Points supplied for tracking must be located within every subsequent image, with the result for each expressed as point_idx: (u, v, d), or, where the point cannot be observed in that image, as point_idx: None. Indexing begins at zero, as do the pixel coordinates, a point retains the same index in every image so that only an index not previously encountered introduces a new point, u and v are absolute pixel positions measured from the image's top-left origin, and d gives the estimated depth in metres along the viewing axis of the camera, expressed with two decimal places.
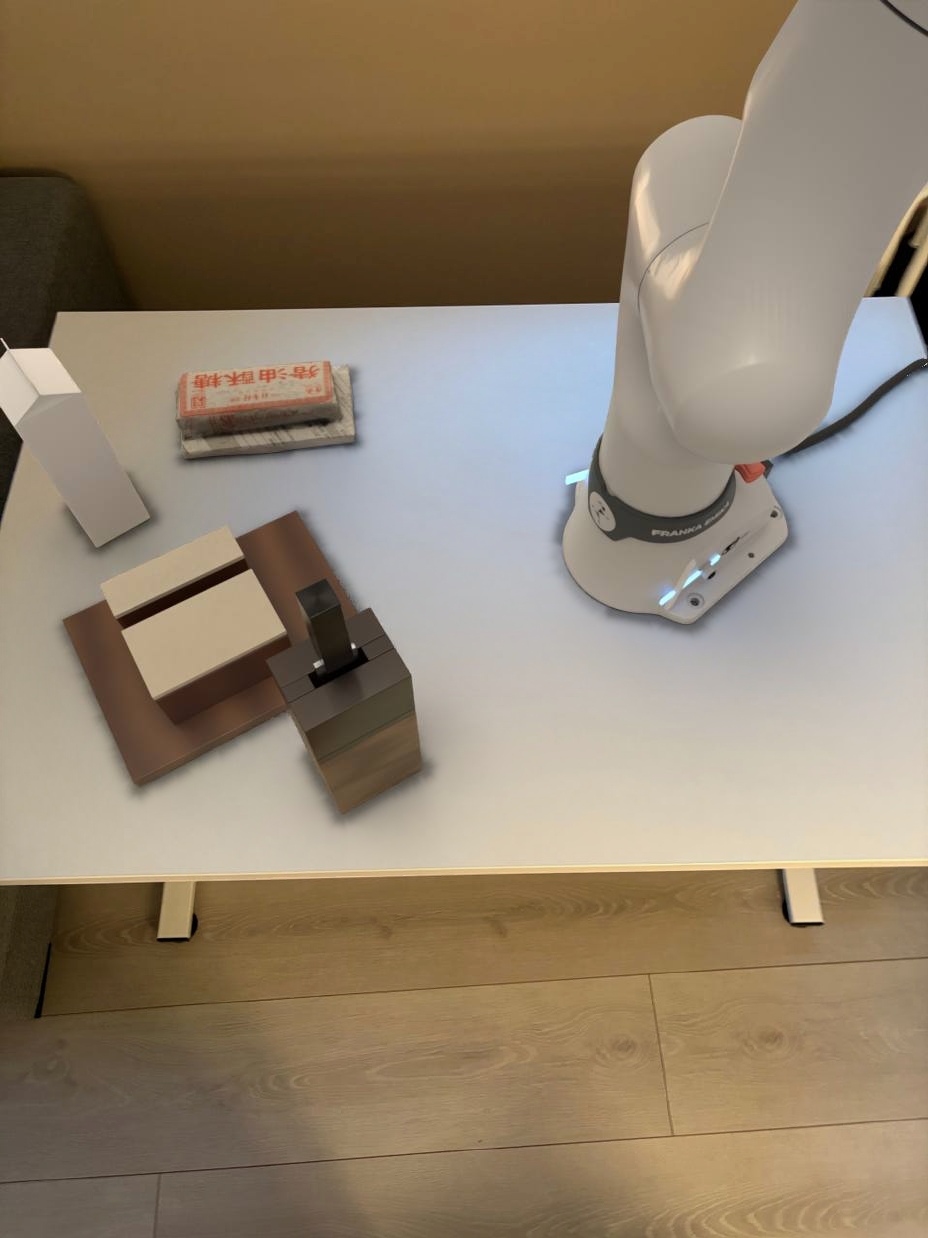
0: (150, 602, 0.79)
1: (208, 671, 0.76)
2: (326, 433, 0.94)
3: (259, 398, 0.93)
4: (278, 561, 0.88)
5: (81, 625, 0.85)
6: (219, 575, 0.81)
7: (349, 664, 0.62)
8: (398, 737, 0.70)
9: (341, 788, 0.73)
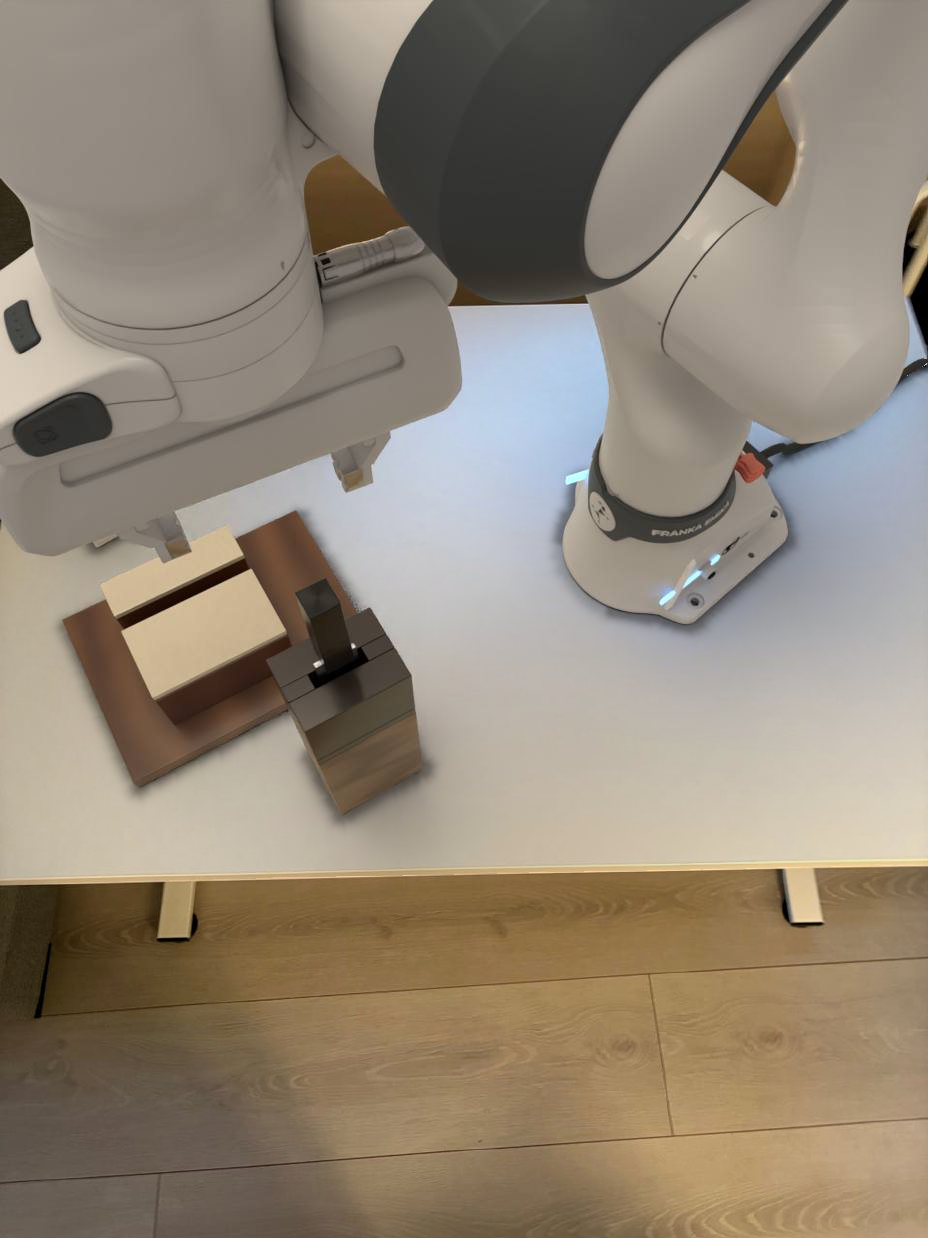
0: (150, 602, 0.79)
1: (208, 671, 0.76)
2: None
3: None
4: (278, 561, 0.88)
5: (81, 625, 0.85)
6: (219, 575, 0.81)
7: (349, 664, 0.62)
8: (398, 737, 0.70)
9: (341, 788, 0.73)
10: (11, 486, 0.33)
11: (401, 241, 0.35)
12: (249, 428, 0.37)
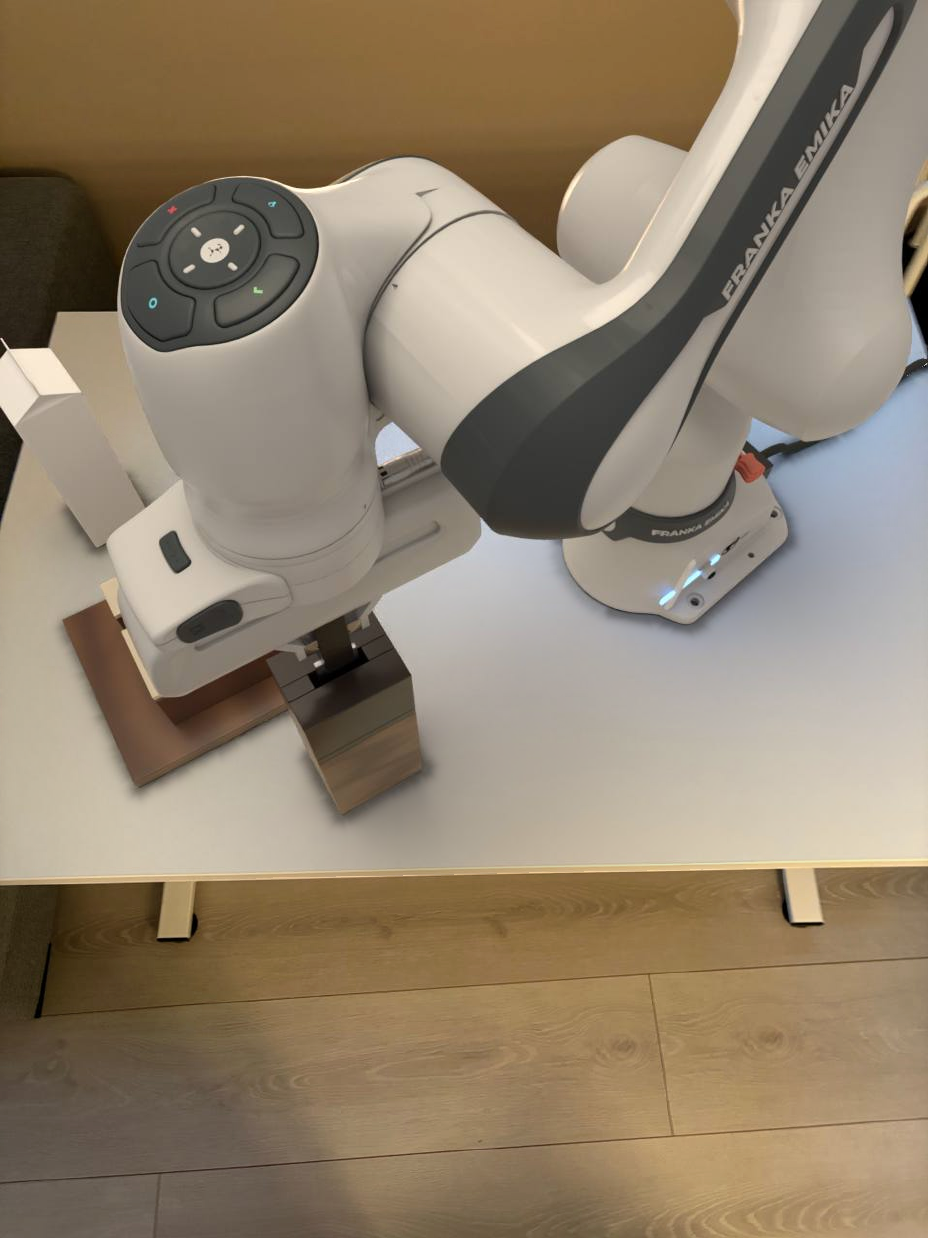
0: None
1: None
2: None
3: None
4: None
5: (81, 625, 0.85)
6: None
7: (349, 664, 0.62)
8: (398, 737, 0.70)
9: (341, 788, 0.73)
10: (165, 660, 0.45)
11: None
12: None
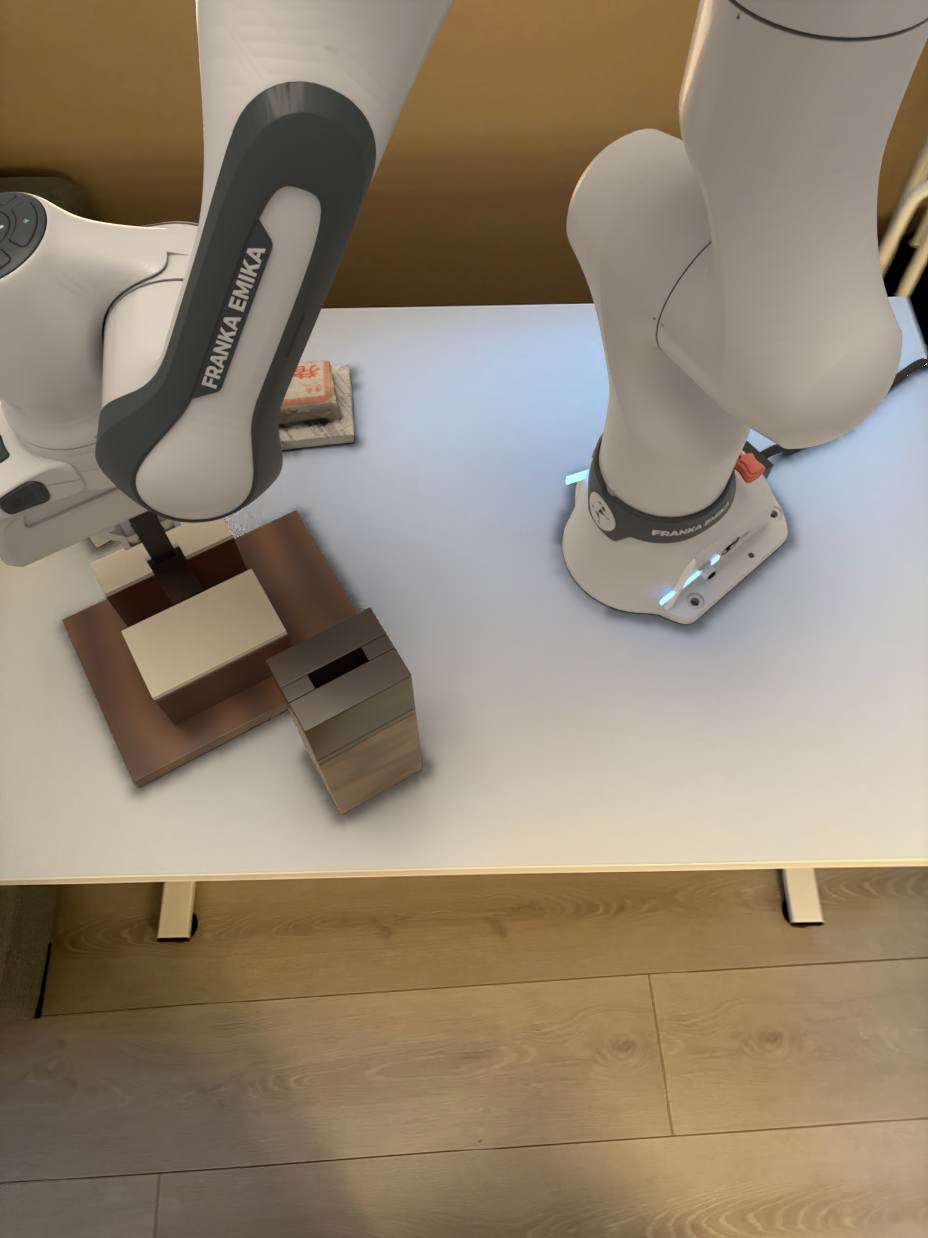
0: (140, 581, 0.80)
1: (208, 671, 0.76)
2: (325, 433, 0.94)
3: None
4: (278, 561, 0.88)
5: (81, 625, 0.85)
6: (208, 555, 0.82)
7: (177, 561, 0.80)
8: (398, 737, 0.70)
9: (341, 788, 0.73)
10: None
11: None
12: None
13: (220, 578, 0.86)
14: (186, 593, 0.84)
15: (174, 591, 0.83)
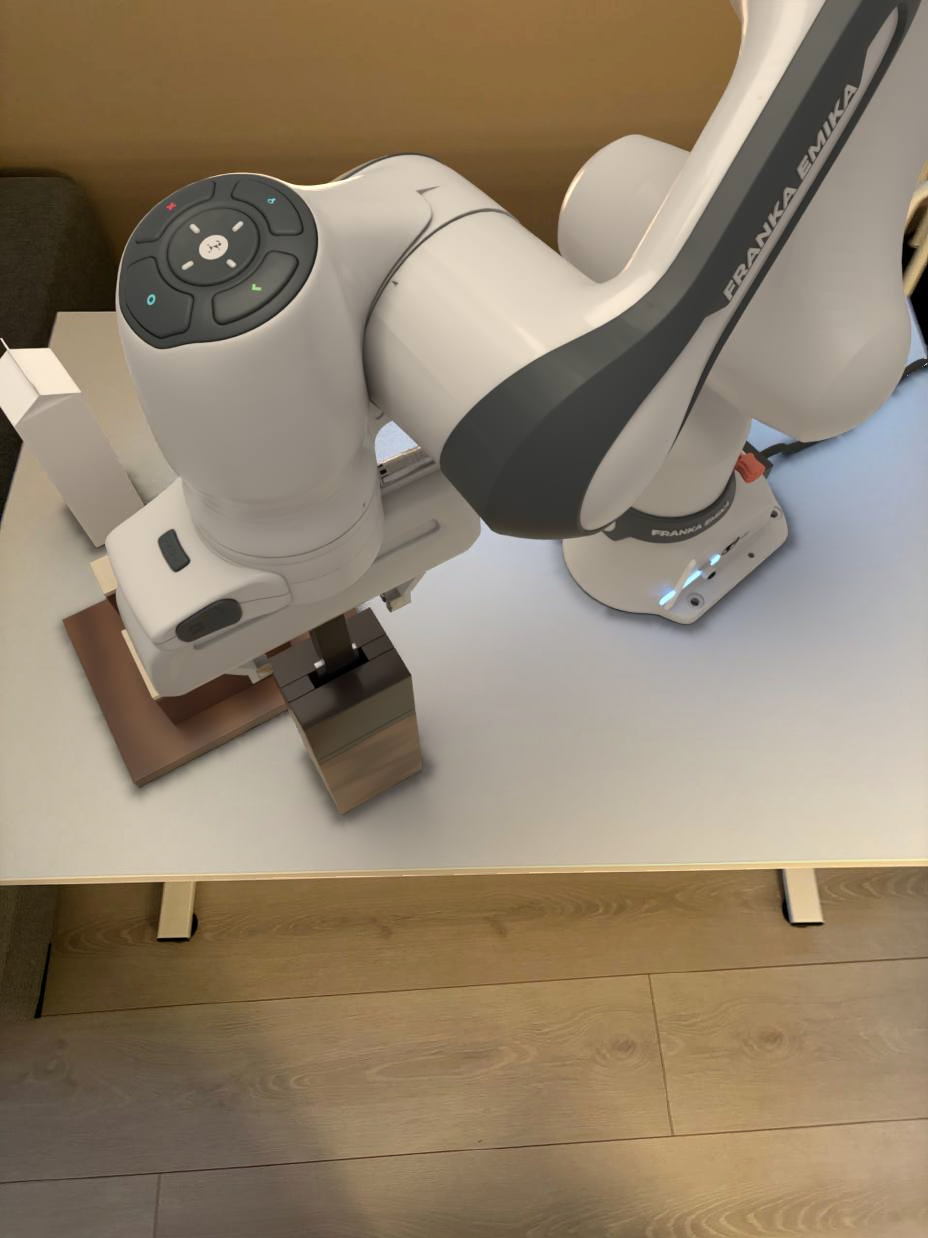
0: None
1: None
2: None
3: None
4: None
5: (81, 625, 0.85)
6: None
7: (350, 665, 0.62)
8: (398, 737, 0.70)
9: (341, 788, 0.73)
10: (164, 659, 0.44)
11: None
12: None
13: None
14: None
15: None
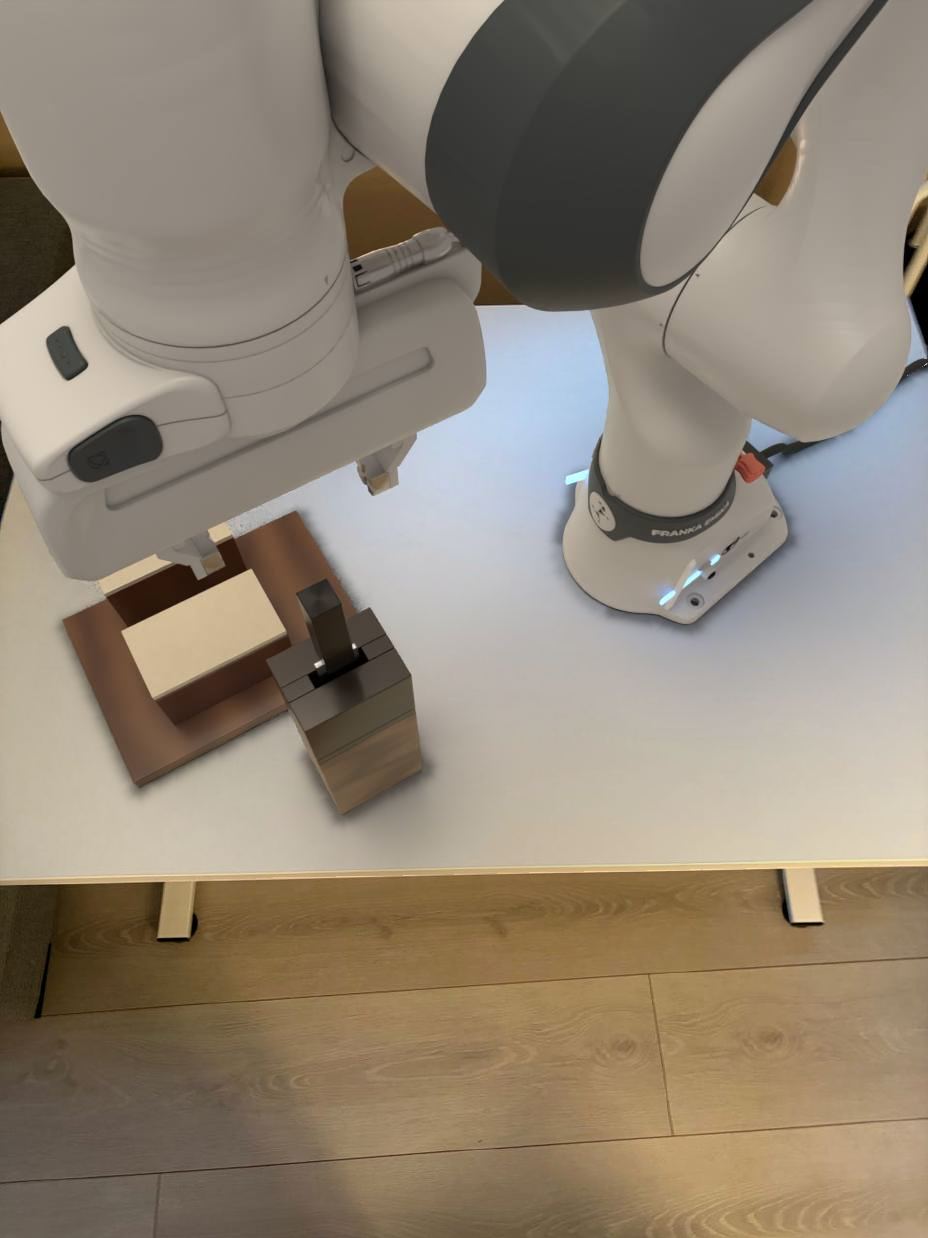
0: (139, 580, 0.80)
1: (208, 671, 0.76)
2: None
3: None
4: (278, 561, 0.88)
5: (81, 625, 0.85)
6: None
7: (350, 665, 0.62)
8: (398, 737, 0.70)
9: (341, 788, 0.73)
10: (61, 514, 0.33)
11: (429, 243, 0.35)
12: (286, 438, 0.37)
13: (220, 578, 0.86)
14: None
15: None
